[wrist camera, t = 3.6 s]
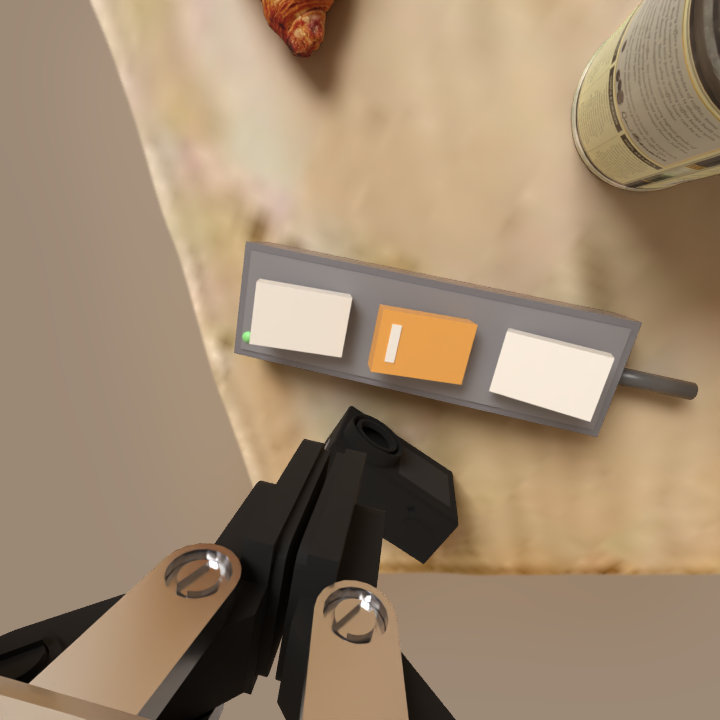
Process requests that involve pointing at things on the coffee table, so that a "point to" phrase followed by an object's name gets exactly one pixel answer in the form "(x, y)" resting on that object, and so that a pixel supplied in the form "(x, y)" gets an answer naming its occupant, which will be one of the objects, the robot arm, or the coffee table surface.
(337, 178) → the coffee table surface
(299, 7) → the croissant
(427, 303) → the power strip
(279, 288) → the block
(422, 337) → the amber rocker
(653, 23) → the coffee can
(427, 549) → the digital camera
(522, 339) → the white rocker
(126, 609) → the robot arm
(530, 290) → the coffee table surface
